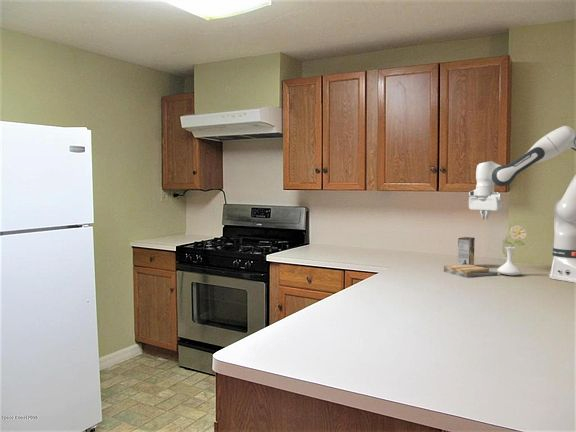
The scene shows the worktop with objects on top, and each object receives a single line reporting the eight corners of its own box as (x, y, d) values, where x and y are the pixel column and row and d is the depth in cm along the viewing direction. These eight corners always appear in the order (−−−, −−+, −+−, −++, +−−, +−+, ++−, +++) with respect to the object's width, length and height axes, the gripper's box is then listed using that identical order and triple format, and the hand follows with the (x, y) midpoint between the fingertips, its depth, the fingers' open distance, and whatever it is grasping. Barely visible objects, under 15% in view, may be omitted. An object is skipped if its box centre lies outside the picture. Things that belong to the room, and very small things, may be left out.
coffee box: (462, 265, 266) (463, 236, 265) (474, 266, 262) (475, 237, 261) (457, 267, 259) (458, 238, 258) (469, 268, 255) (470, 238, 254)
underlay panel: (497, 275, 235) (497, 269, 235) (466, 277, 229) (466, 271, 228) (473, 269, 251) (473, 264, 251) (443, 271, 245) (443, 265, 244)
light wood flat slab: (489, 271, 234) (489, 268, 234) (469, 273, 230) (469, 270, 230) (468, 266, 248) (468, 264, 248) (449, 268, 244) (449, 265, 244)
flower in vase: (495, 275, 235) (497, 225, 233) (497, 271, 245) (499, 223, 243) (525, 278, 228) (527, 226, 227) (525, 274, 239) (527, 225, 237)
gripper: (505, 192, 236) (505, 219, 237) (475, 192, 256) (475, 217, 256) (495, 192, 234) (495, 220, 235) (466, 192, 253) (466, 218, 254)
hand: (485, 219), depth 246 cm, fingers closed
